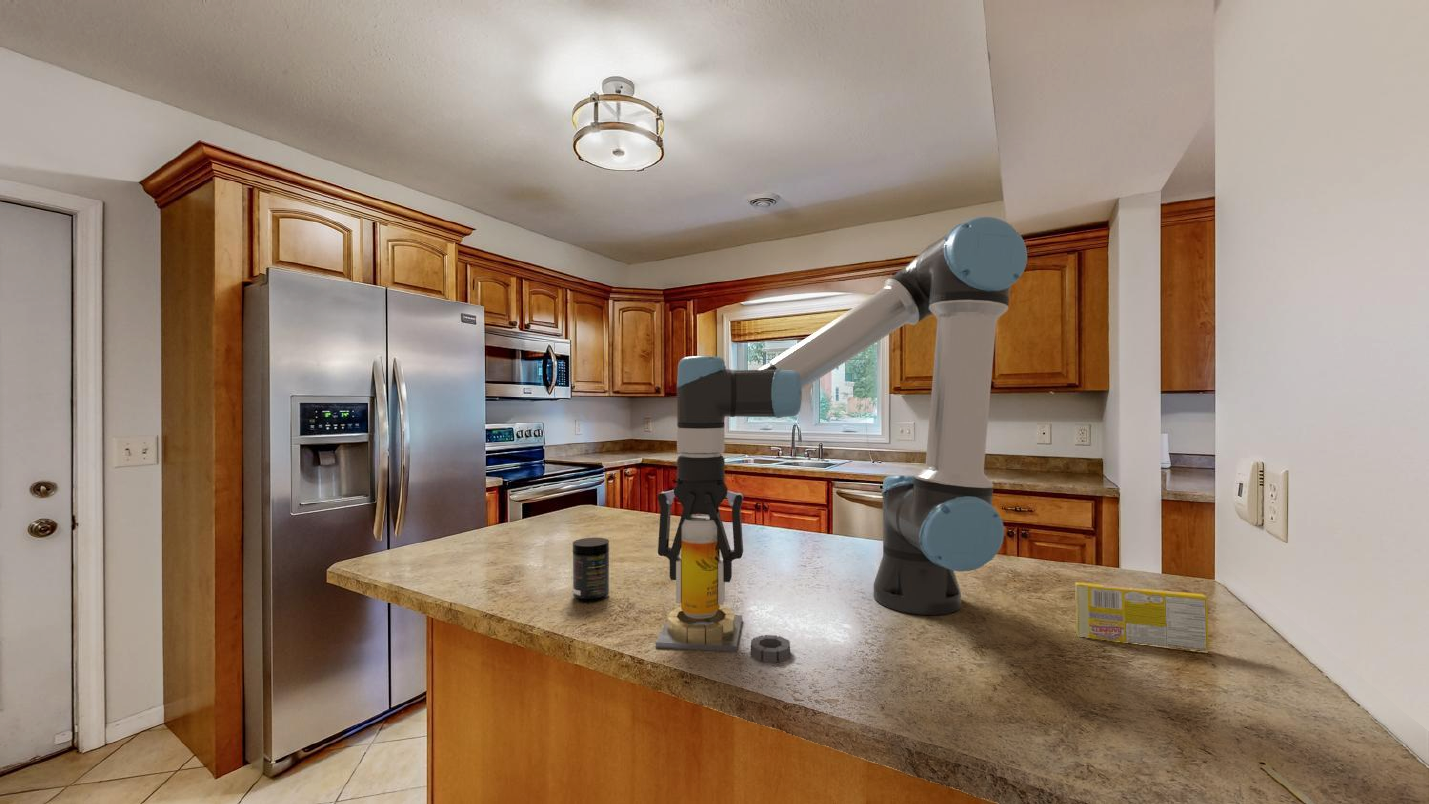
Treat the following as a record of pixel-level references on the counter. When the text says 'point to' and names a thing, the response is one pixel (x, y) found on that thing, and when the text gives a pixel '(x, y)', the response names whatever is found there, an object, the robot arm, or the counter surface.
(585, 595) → the supplement container
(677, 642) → the collar block
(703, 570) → the beer can
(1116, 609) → the candy box
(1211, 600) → the counter surface
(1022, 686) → the counter surface
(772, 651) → the ring
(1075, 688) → the counter surface
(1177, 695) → the counter surface
